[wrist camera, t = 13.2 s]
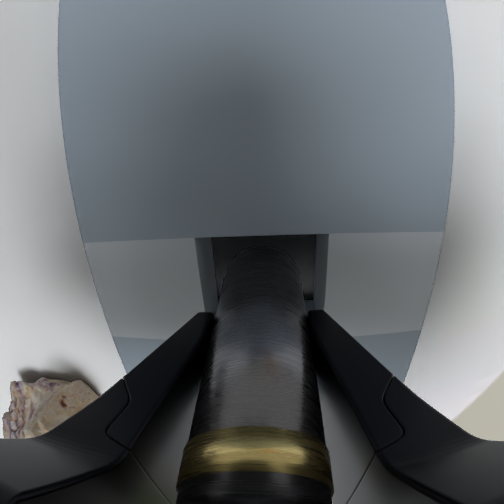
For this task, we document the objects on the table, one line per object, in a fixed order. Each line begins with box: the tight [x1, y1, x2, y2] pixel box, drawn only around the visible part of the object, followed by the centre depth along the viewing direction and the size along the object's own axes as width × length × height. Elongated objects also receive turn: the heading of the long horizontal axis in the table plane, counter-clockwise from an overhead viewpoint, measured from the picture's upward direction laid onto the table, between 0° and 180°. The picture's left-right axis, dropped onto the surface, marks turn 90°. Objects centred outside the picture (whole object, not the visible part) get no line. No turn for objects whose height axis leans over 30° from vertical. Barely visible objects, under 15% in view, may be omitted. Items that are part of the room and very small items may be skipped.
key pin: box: [176, 246, 334, 504], centre depth 7 cm, size 3×3×8 cm
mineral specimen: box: [2, 377, 98, 439], centre depth 16 cm, size 13×7×6 cm, turn 157°
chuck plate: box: [58, 0, 454, 383], centre depth 8 cm, size 12×26×2 cm, turn 3°
